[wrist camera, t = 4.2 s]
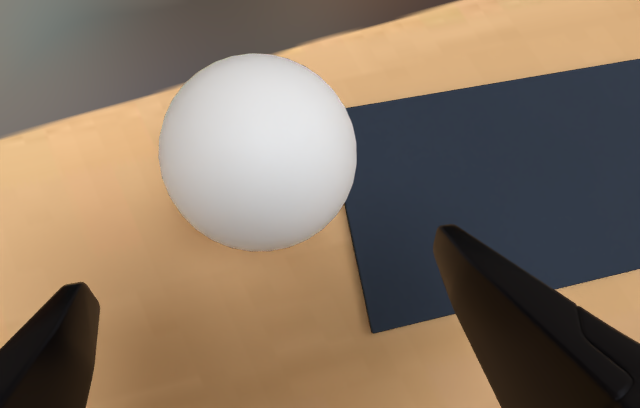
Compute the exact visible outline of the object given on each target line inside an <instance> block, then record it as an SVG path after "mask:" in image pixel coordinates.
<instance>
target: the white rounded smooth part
mask: <svg viewBox="0 0 640 408" xmlns="http://www.w3.org/2000/svg"><path fill="white" fill-rule="evenodd" d="M159 163H160V169H161V175H162V179H163V181H164V184H165V186H166V189H167V191H168V194H169V196H170V198H171V200H172V201H173V203H174V204H175V206H176V207H177V209H178V210H179V212H180V213H181V215H182V216H183V217H184V218H185V219H186V220H187V221H188V222H189V223H190V224H191V225H192V226H193V227H194V228H195V229H196V230H198V231H199V232H201V233H202V234H204V235H205V236H207V237H208V238H210V239H211V240H213V241H216V242H218V243H220V244H223V245H225V246H228V247H230V248H235V249H240V250H246V251H274V250H279V249H284V248H288V247H291V246H294V245H296V244H298V243H301V242H303V241H305V240H308V239H309V238H310V237H312V236H313V235H315V234H316V233H318V232H319V231H321V230H322V229H323V228H324V227H325V226H326V225H327V224H328V223H329V222H330V221H331V220H332V219H333V218H334V217H335V216H336V215H337V213H338V212H339V210H340V209H341V207H342V206H343V204H344V203H345V201H346V200H347V197H348V194H349V192H350V189H351V187H352V184H353V181H354V176H355V170H356V165H357V153H356V139H355V134H354V129H353V125H352V122H351V120H350V118H349V115H348V113H347V111H346V108H345V106H344V105H343V104H342V102H341V101H340V99H339V98H338V96H337V95H336V93H335V92H334V91H333V89H332V88H331V87H330V86H329V85H328V84H327V83H326V82H325V81H324V80H323V79H322V78H321V77H320V76H318V75H317V74H315V73H314V72H313V71H311V70H310V69H308V68H307V67H305V66H303V65H301V64H299V63H297V62H294V61H292V60H290V59H288V58H283V57H279V56H275V55H270V54H252V53H251V54H244V55H237V56H231V57H228V58H226V59H223V60H220V61H217V62H214V63H212V64H211V65H209V66H207V67H206V68H204V69H202V70H200V71H199V72H197V73H196V74H195V75H194V76H193V77H192V78H191V79H189V80H188V81H187V82H186V83H185V84H184V85H183V86H182V88H181V89H180V90H179V92H178V93H177V94H176V96H175V97H174V98H173V100H172V102H171V104H170V106H169V108H168V110H167V112H166V114H165V117H164V121H163V125H162V129H161V133H160V137H159Z"/></svg>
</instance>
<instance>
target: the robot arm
mask: <svg viewBox="0 0 640 408" xmlns="http://www.w3.org/2000/svg"><path fill="white" fill-rule="evenodd" d="M433 254H434V257H435V260H436V263H437V266H438V268H439V271H440V274H441V277H442V280H443V283H444V286H445V288H446V291H447V294H448V297H449V299H450V302H451V305H452V307H453V309H454V311H455V313H456V315H457V317H458V319H459V321H460V324H461V326H462V328H463V330H464V332H465V334H466V336H467V338H468V340H469V342H470V344H471V346H472V348H473V350H474V352H475V354H476V356H477V358H478V361H479V363H480V365H481V367H482V369H483V371H484V373H485V375H486V377H487V379H488V381H489V383H490V385H491V387H492V389H493V391H494V393H495V396H496V398H497V400H498V402H499V404H500V406H501V408H640V343H638V342H636V341H634V340H633V339H631V338H629V337H628V336H626V335H624V334H623V333H621V332H619V331H617V330H616V329H614V328H613V327H611V326H610V325H608V324H606V323H605V322H603V321H602V320H600V319H598V318H597V317H595V316H594V315H592V314H591V313H589V312H588V311H586V310H585V309H583V308H582V307H580V306H577V305H576V304H575V303H574V302H572V301H571V300H569V299H568V298H566V297H565V296H563V295H562V294H560V293H559V292H557V291H555V290H554V289H552V288H551V287H549V286H548V285H546V284H545V283H543V282H542V281H540V280H539V279H537V278H536V277H534V276H533V275H531V274H530V273H528V272H527V271H525V270H524V269H522V268H520V267H519V266H517V265H516V264H514V263H513V262H511V261H510V260H508V259H507V258H505V257H504V256H502V255H501V254H499V253H498V252H496V251H495V250H493V249H492V248H490V247H489V246H487V245H485V244H484V243H482V242H481V241H479V240H478V239H476V238H475V237H473V236H472V235H470V234H469V233H467V232H466V231H464V230H463V229H461V228H460V227H458V226H457V225H455V224H446V225H440V226H439V227H438V228H437V231H436V235H435V239H434V243H433ZM99 314H100V306H99V302H98V300H97V299H96V297H95V296H94V295H93V293H92V292H91V290H90V289H89V287H88V286H87V285H86V284H85V283H83V282H78V283H71V284H66V285H64V286H63V287H61V288H60V289H59V290H58V291H57V292H56V293H55V294H54V295H53V296H52V297H51V298H50V299H49V300H48V301H47V302H46V303H45V304H44V305H43V306H42V307H41V308H40V310H39V311H38V312H37V313H36V314H35V315H34V316H33V317H32V318H31V319H30V320H29V321H28V322H27V323H26V324H25V325H24V326H23V327H22V328H21V329H20V330H19V331H18V332H17V333H16V334H15V335H14V336H13V337H12V338H11V339H10V340H9V341H8V342H7V343H6V344H5V345H4V346H3V347H2V348H1V349H0V408H86V404H87V399H88V395H89V390H90V386H91V381H92V376H93V371H94V364H95V355H96V345H97V335H98V325H99Z"/></svg>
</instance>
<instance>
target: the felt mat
mask: <svg viewBox="0 0 640 408" xmlns="http://www.w3.org/2000/svg"><path fill="white" fill-rule="evenodd" d="M346 111H347V113H348V115H349V118H350V120H351V122H352V125H353V129H354V134H355V139H356V153H357V165H356V170H355V176H354V181H353V184H352V187H351V189H350V192H349V194H348V197H347V200H346V201H345V208H346V213H347V218H348V222H349V227H350V232H351V237H352V241H353V246H354V251H355V256H356V261H357V265H358V270H359V275H360V280H361V284H362V289H363V294H364V299H365V303H366V308H367V313H368V318H369V322H370V327H371V332H372V333H373V334H374V333H378V332H382V331H386V330H390V329H394V328H398V327H402V326H406V325H411V324H415V323H419V322H423V321H427V320H431V319H435V318H439V317H443V316H448V315H452V314H456V313H455V311H454V309H453V307H452V305H451V302H450V299H449V297H448V294H447V291H446V288H445V286H444V283H443V280H442V277H441V274H440V271H439V268H438V266H437V263H436V260H435V257H434V254H433V243H434V239H435V235H436V231H437V228H438V227H439V226H440V225H446V224H455V225H457V226H458V227H460V228H461V229H463V230H464V231H466V232H467V233H469V234H470V235H472V236H473V237H475V238H476V239H478V240H479V241H481V242H482V243H484V244H485V245H487V246H489V247H490V248H492V249H493V250H495V251H496V252H498V253H499V254H501V255H502V256H504V257H505V258H507V259H508V260H510V261H511V262H513V263H514V264H516V265H517V266H519V267H520V268H522V269H524V270H525V271H527V272H528V273H530V274H531V275H533V276H534V277H536V278H537V279H539V280H540V281H542V282H543V283H545V284H546V285H548V286H549V287H551V288H552V289H559V288H563V287H567V286H571V285H575V284H579V283H583V282H587V281H591V280H596V279H600V278H604V277H608V276H612V275H616V274H620V273H624V272H628V271H633V270H637V269H640V59H636V60H630V61H624V62H618V63H612V64H606V65H600V66H594V67H588V68H582V69H576V70H570V71H564V72H558V73H552V74H547V75H541V76H535V77H529V78H523V79H517V80H511V81H505V82H499V83H493V84H487V85H481V86H475V87H469V88H463V89H457V90H452V91H446V92H440V93H434V94H428V95H422V96H416V97H410V98H404V99H398V100H392V101H386V102H380V103H374V104H368V105H362V106H357V107H351V108H346Z"/></svg>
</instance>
